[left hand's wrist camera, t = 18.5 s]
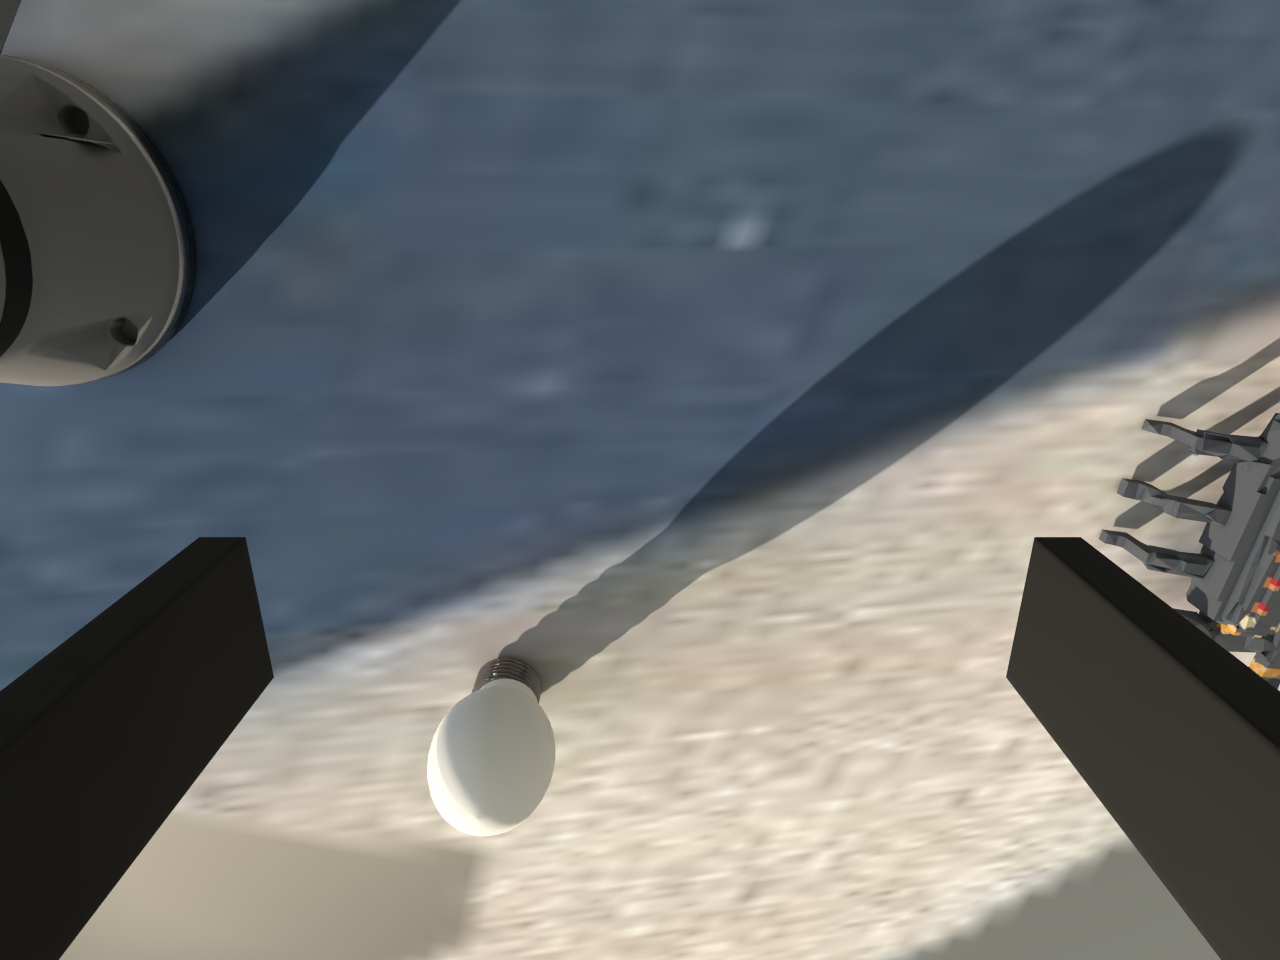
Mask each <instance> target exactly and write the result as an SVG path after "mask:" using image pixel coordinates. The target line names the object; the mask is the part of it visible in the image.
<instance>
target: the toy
mask: <svg viewBox="0 0 1280 960" xmlns="http://www.w3.org/2000/svg"><path fill="white" fill-rule="evenodd" d="M1142 430H1146V431H1149V432H1153V433H1157V434H1160V435H1165V436H1168V437H1170V438H1173V439H1175V440H1177V441H1179V442H1182V443H1184V444H1186V445H1188V446H1190V448H1189V451H1191V452H1193V453H1195V454H1201V455H1210V456H1218V457H1220V458H1221V459H1231V460H1241V461H1239V462H1237V463H1235V464H1234V466H1233V468H1232V470H1231V472H1230V474H1229V476H1228V478H1227V480H1226V482H1225V484H1224V486H1223V490H1224V493H1223V495H1222V496H1221V498H1220V499H1219V501H1218V503H1217V504H1216V505H1215V504H1212V503H1209V502H1203V501H1198V500H1192V499H1187V498H1181V497H1176V496H1171V495H1168V494H1166V493H1164V492H1163V491H1161V490H1159V489H1158V488H1156V487H1154V486H1153V485H1150V484H1148V483H1146V482H1143V481H1138V480H1131V479H1123V478H1122V481H1121V483H1120V486H1119V489H1118V491H1117V493H1118V494H1120V495H1121V496H1123V497H1128V498H1132V499H1137V500H1141V501H1144V502H1147V503H1149V504H1152V505H1153V506H1155V507H1157V508H1158V509H1160V510H1162V511H1163V512H1165V513H1167V514H1169V515H1171V516H1174V517H1176V518H1182V519H1189V520H1196V521H1203V522H1207V524H1206V527H1205V529H1204V531H1203V533H1202V536H1201V538H1200V540H1199V542H1200V543H1202V544H1203V547H1202V549H1201V552H1200V554H1195V553H1185V552H1178V551H1175V550H1171V549H1166V548H1161V547H1156V546H1150V545H1149V546H1147V545H1145V544H1143V543H1142V542H1140V541H1138V540H1137V539H1135V538H1134V537H1132V536H1130V535H1129V534H1127V533H1123V532H1116V531H1108V530H1102V532H1101V535H1100V537H1099V539H1100V540H1101V541H1103V542H1104V543H1107V544H1112V545H1116V546H1120V547H1123V548H1124V549H1126V550H1127V551H1128V552H1130V553H1131V554H1133V555H1134V556H1136V557H1137V558H1138V559H1140V560H1141V561H1143V563H1144V565H1145V566H1146V567H1147V569H1151V570H1156V571H1161V572H1166V573H1172V574H1178V575H1183V576H1189V577H1192V580H1191V583H1192V584H1191V586H1190V587H1189V589H1188V591H1187V593H1186V596H1187V600H1188V602H1190V603H1191V604H1192V605H1194V606H1195V607H1196V608H1198V609H1199V610H1200V612H1199V614H1198V613H1197V612H1192V611H1186V610H1179V609H1174V610H1175V611H1176V612H1178V613H1179V614H1180V615H1182V616H1183V617H1184V618H1185V619H1187V620H1188V621H1189V622H1191V623H1192V624H1193V625H1195V626H1196V627H1197V628H1198V629H1200V630H1201V631H1202V632H1204V633H1205V634H1206V635H1207V636H1209V637H1210V638H1211V639H1213V640H1214V641H1215V642H1216V643H1218V644H1219V645H1220V646H1222V647H1223V648H1224V649H1226V650H1227V651H1228V652H1229V651H1233V652H1257V653H1256V655H1255V656H1254V658H1253V660H1252V662H1251V664H1250V665H1249V668H1250V669H1251V670H1253V671H1254V672H1255V673H1257V674H1258V675H1259V676H1260V677H1262V678H1263V679H1264V680H1266V681H1267V682H1268V683H1269V684H1271V685H1272V686H1273V687H1275V688H1276V689H1278V687H1279V684H1280V413H1275V415H1274V416H1273V418H1272V420H1271V421H1270V423H1269V424H1268V426H1267V427H1266V429H1265V430H1264V432H1263V433H1262V435H1261V436H1260V437H1249V436H1238V435H1225V434H1219V433H1214V432H1209V431H1204V430H1199V429H1197V432H1194V431H1191V430H1188V429H1185V428H1182V427H1180V426H1178V425H1175V424H1173V423H1169V422H1162V421H1155V420H1148V419H1145V422H1144V425H1143V427H1142Z"/></svg>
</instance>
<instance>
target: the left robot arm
mask: <svg viewBox="0 0 1280 960" xmlns="http://www.w3.org/2000/svg"><path fill="white" fill-rule="evenodd" d="M20 2H21V0H0V382H3V383H14V384H25V385H36V386H63V385H71V384H81V383H88V382H93V381H96V380H100V379H104V378H107V377H110V376H113V375H116V374H119V373H121V372H124V371H126V370H129V369H132V368H133V367H135V366H137V365H139V364H141V363H143V362H144V361H146V360H147V359H149V358H150V357H152V356H153V355H154V354H155V353H157V352H158V351H159V350H160V349H161V348H162V347H163V346H164V345H165V344H166V343H167V342H168V340H169V339H170V338H171V337H172V335H173V334H174V333H175V331H176V330H177V328H178V327H179V325H180V323H181V321H182V319H183V317H184V315H185V313H186V310H187V307H188V305H189V302H190V298H191V294H192V290H193V284H194V277H195V244H194V238H193V231H192V227H191V222H190V218H189V214H188V211H187V208H186V205H185V202H184V199H183V197H182V194H181V192H180V190H179V187H178V185H177V183H176V181H175V179H174V177H173V175H172V173H171V171H170V170H169V168H168V166H167V164H166V163H165V161H164V160H163V158H162V156H161V155H160V153H159V152H158V150H157V149H156V148H155V146H154V145H153V144H152V142H151V141H150V140H149V138H148V137H147V136H146V135H145V134H144V133H143V131H142V130H141V129H140V128H139V127H138V126H137V125H136V124H135V122H134V121H133V120H131V119H130V118H129V117H128V116H127V115H126V114H125V113H124V112H123V111H122V110H121V109H120V108H119V107H117V106H116V105H115V104H114V103H113V102H111V101H110V100H109V99H108V98H106V97H105V96H104V95H102V94H101V93H99V92H98V91H96V90H95V89H94V88H92V87H90V86H89V85H87V84H85V83H84V82H82V81H80V80H78V79H77V78H75V77H73V76H70V75H68V74H66V73H64V72H62V71H60V70H57V69H54V68H52V67H49V66H46V65H44V64H40V63H36V62H32V61H29V60H24V59H20V58H15V57H11V56H6V55H1V52H2V49H3V47H4V44H5V41H6V39H7V36H8V33H9V31H10V28H11V25H12V23H13V20H14V18H15V15H16V12H17V10H18V7H19V4H20ZM273 678H274V676H273V671H272V666H271V661H270V656H269V651H268V646H267V641H266V636H265V631H264V627H263V622H262V617H261V612H260V607H259V602H258V597H257V592H256V587H255V582H254V577H253V572H252V567H251V563H250V558H249V553H248V548H247V543H246V538H245V537H199V538H198V539H197V540H195V541H194V542H193V543H191V544H190V545H189V546H188V547H186V548H185V549H184V550H182V551H181V552H180V553H178V554H177V555H176V556H175V557H173V558H172V559H171V560H169V561H168V562H167V563H166V564H164V565H163V566H162V567H160V568H159V569H158V570H157V571H155V572H154V573H153V574H151V575H150V576H149V577H147V578H146V579H145V580H144V581H142V582H141V583H140V584H138V585H137V586H136V587H135V588H133V589H132V590H131V591H129V592H128V593H127V594H126V595H124V596H123V597H122V598H120V599H119V600H118V601H116V602H115V603H114V604H113V605H111V606H110V607H109V608H107V609H106V610H105V611H104V612H102V613H101V614H100V615H98V616H97V617H96V618H95V619H93V620H92V621H91V622H89V623H88V624H87V625H85V626H84V627H83V628H82V629H80V630H79V631H78V632H76V633H75V634H74V635H73V636H71V637H70V638H69V639H67V640H66V641H65V642H64V643H62V644H61V645H60V646H58V647H57V648H56V649H54V650H53V651H52V652H51V653H49V654H48V655H47V656H45V657H44V658H43V659H42V660H40V661H39V662H38V663H36V664H35V665H34V666H33V667H31V668H30V669H29V670H27V671H26V672H25V673H23V674H22V675H21V676H20V677H18V678H17V679H16V680H14V681H13V682H12V683H11V684H9V685H8V686H7V687H5V688H4V689H3V690H2V691H0V960H59V959H60V957H61V956H62V955H63V953H64V952H65V951H66V949H67V948H68V947H69V946H70V944H71V943H72V942H73V940H74V939H75V938H76V936H77V935H78V934H79V932H80V931H81V930H82V928H83V927H84V926H85V924H86V923H87V922H88V921H89V919H90V918H91V917H92V915H93V914H94V913H95V911H96V910H97V909H98V907H99V906H100V905H101V903H102V902H103V901H104V900H105V898H106V897H107V896H108V894H109V893H110V892H111V890H112V889H113V888H114V886H115V885H116V884H117V882H118V881H119V880H120V879H121V877H122V876H123V875H124V873H125V872H126V871H127V869H128V868H129V867H130V865H131V864H132V863H133V861H134V860H135V859H136V857H137V856H138V855H139V854H140V852H141V851H142V850H143V848H144V847H145V846H146V844H147V843H148V842H149V840H150V839H151V838H152V836H153V835H154V834H155V833H156V831H157V830H158V829H159V827H160V826H161V825H162V823H163V822H164V821H165V819H166V818H167V817H168V815H169V814H170V813H171V812H172V810H173V809H174V808H175V806H176V805H177V804H178V802H179V801H180V800H181V798H182V797H183V796H184V794H185V793H186V792H187V791H188V789H189V788H190V787H191V785H192V784H193V783H194V781H195V780H196V779H197V777H198V776H199V775H200V773H201V772H202V771H203V770H204V768H205V767H206V766H207V764H208V763H209V762H210V760H211V759H212V758H213V756H214V755H215V754H216V752H217V751H218V750H219V749H220V747H221V746H222V745H223V743H224V742H225V741H226V739H227V738H228V737H229V735H230V734H231V733H232V731H233V730H234V729H235V727H236V726H237V725H238V724H239V722H240V721H241V720H242V718H243V717H244V716H245V714H246V713H247V712H248V710H249V709H250V708H251V706H252V705H253V704H254V703H255V701H256V700H257V699H258V697H259V696H260V695H261V693H262V692H263V691H264V689H265V688H266V687H267V685H268V684H269V683H270V682H271V680H272V679H273ZM1006 678H1007V679H1008V680H1009V682H1010V683H1011V684H1012V685H1013V687H1014V688H1015V689H1016V691H1017V692H1018V693H1019V695H1020V696H1021V697H1022V699H1023V700H1024V701H1025V703H1026V704H1027V705H1028V706H1029V708H1030V709H1031V710H1032V712H1033V713H1034V714H1035V716H1036V717H1037V718H1038V720H1039V721H1040V722H1041V724H1042V725H1043V726H1044V727H1045V729H1046V730H1047V731H1048V733H1049V734H1050V735H1051V737H1052V738H1053V739H1054V741H1055V742H1056V743H1057V745H1058V746H1059V747H1060V749H1061V750H1062V751H1063V752H1064V754H1065V755H1066V756H1067V758H1068V759H1069V760H1070V762H1071V763H1072V764H1073V766H1074V767H1075V768H1076V770H1077V771H1078V772H1079V773H1080V775H1081V776H1082V777H1083V779H1084V780H1085V781H1086V783H1087V784H1088V785H1089V787H1090V788H1091V789H1092V791H1093V792H1094V793H1095V794H1096V796H1097V797H1098V798H1099V800H1100V801H1101V802H1102V804H1103V805H1104V806H1105V808H1106V809H1107V810H1108V812H1109V813H1110V814H1111V815H1112V817H1113V818H1114V819H1115V821H1116V822H1117V823H1118V825H1119V826H1120V827H1121V829H1122V830H1123V831H1124V833H1125V834H1126V835H1127V837H1128V838H1129V839H1130V840H1131V842H1132V843H1133V844H1134V846H1135V847H1136V848H1137V850H1138V851H1139V852H1140V854H1141V855H1142V856H1143V857H1144V859H1145V860H1146V861H1147V863H1148V864H1149V865H1150V867H1151V868H1152V869H1153V871H1154V872H1155V873H1156V875H1157V876H1158V877H1159V879H1160V880H1161V881H1162V882H1163V884H1164V885H1165V886H1166V888H1167V889H1168V890H1169V892H1170V893H1171V894H1172V896H1173V897H1174V898H1175V900H1176V901H1177V902H1178V903H1179V905H1180V906H1181V907H1182V909H1183V910H1184V911H1185V913H1186V914H1187V915H1188V917H1189V918H1190V919H1191V921H1192V922H1193V923H1194V925H1195V926H1196V927H1197V928H1198V930H1199V931H1200V932H1201V934H1202V935H1203V936H1204V938H1205V939H1206V940H1207V942H1208V943H1209V944H1210V945H1211V947H1212V948H1213V949H1214V951H1215V952H1216V953H1217V955H1218V956H1219V957H1220V959H1221V960H1280V691H1278V690H1277V689H1276V688H1275V687H1273V686H1272V685H1271V684H1269V683H1268V682H1267V681H1266V680H1264V679H1263V678H1262V677H1260V676H1259V675H1258V674H1257V673H1255V672H1254V671H1253V670H1251V669H1250V668H1249V667H1247V666H1246V665H1245V664H1244V663H1242V662H1241V661H1240V660H1238V659H1237V658H1236V657H1235V656H1233V655H1232V654H1231V653H1229V652H1228V651H1227V650H1226V649H1224V648H1223V647H1222V646H1220V645H1219V644H1218V643H1216V642H1215V641H1214V640H1213V639H1211V638H1210V637H1209V636H1207V635H1206V634H1205V633H1204V632H1202V631H1201V630H1200V629H1198V628H1197V627H1196V626H1195V625H1193V624H1192V623H1191V622H1189V621H1188V620H1187V619H1185V618H1184V617H1183V616H1182V615H1180V614H1179V613H1178V612H1176V611H1175V610H1174V609H1173V608H1171V607H1170V606H1169V605H1167V604H1166V603H1165V602H1164V601H1162V600H1161V599H1160V598H1158V597H1157V596H1156V595H1154V594H1153V593H1152V592H1151V591H1149V590H1148V589H1147V588H1145V587H1144V586H1143V585H1142V584H1140V583H1139V582H1138V581H1136V580H1135V579H1134V578H1133V577H1131V576H1130V575H1129V574H1127V573H1126V572H1125V571H1123V570H1122V569H1121V568H1120V567H1118V566H1117V565H1116V564H1114V563H1113V562H1112V561H1111V560H1109V559H1108V558H1107V557H1105V556H1104V555H1103V554H1102V553H1100V552H1099V551H1098V550H1096V549H1095V548H1094V547H1092V546H1091V545H1090V544H1089V543H1087V542H1086V541H1085V540H1083V539H1082V538H1081V537H1035V538H1034V543H1033V548H1032V553H1031V558H1030V563H1029V567H1028V572H1027V577H1026V582H1025V587H1024V592H1023V597H1022V602H1021V607H1020V612H1019V617H1018V622H1017V627H1016V631H1015V636H1014V641H1013V646H1012V651H1011V656H1010V661H1009V666H1008V671H1007V676H1006Z"/></svg>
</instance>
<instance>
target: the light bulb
mask: <svg viewBox="0 0 1280 960" xmlns="http://www.w3.org/2000/svg"><path fill="white" fill-rule="evenodd" d="M540 694H541V682H540V679H539V677H538V675H537V674H536V673H535V671H534V670H533V669H532V668H530V667H529V666H528V665H526V664H524V663H522V662H520V661H517V660H514V659H507V658H501V659H495V660H492V661H490V662H488V663H486V664H485V665H484V666H483V667H482V668H481V669H480V671H479V673H478V676H477V678H476V681H475V684H474V687H473V690H472V693H471V694H470V695H468V696H467V697H465V698H464V699H462V700H461V701H459V702H458V703H457V704H456V705H455V706H454V707H453V708H452V709H451V710H450V711H449V712H448V714H447V715H446V716H445V717H444V719H443V720H442V722H441V724H440V725H439V727H438V729H437V731H436V733H435V735H434V738H433V741H432V744H431V747H430V751H429V755H428V769H427V778H428V784H429V789H430V793H431V797H432V799H433V802H434V804H435V806H436V807H437V809H438V811H439V812H440V814H441V815H442V817H443V818H444V819H445V820H446V821H447V822H448V823H449V824H451V825H452V826H454V827H455V828H457V829H458V830H460V831H462V832H464V833H466V834H470V835H474V836H490V835H496V834H501V833H503V832H506V831H509V830H510V829H512V828H514V827H515V826H517V825H518V824H520V823H521V822H523V821H524V820H525V819H526V818H527V817H528V816H529V815H530V814H531V813H532V812H533V811H534V810H535V808H536V807H537V806H538V804H539V803H540V802H541V800H542V798H543V796H544V795H545V793H546V791H547V788H548V786H549V784H550V781H551V778H552V774H553V770H554V763H555V740H554V735H553V730H552V727H551V724H550V721H549V720H548V718H547V716H546V714H545V712H544V711H543V709H542V707H541V706H540V705H539V699H540Z"/></svg>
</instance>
